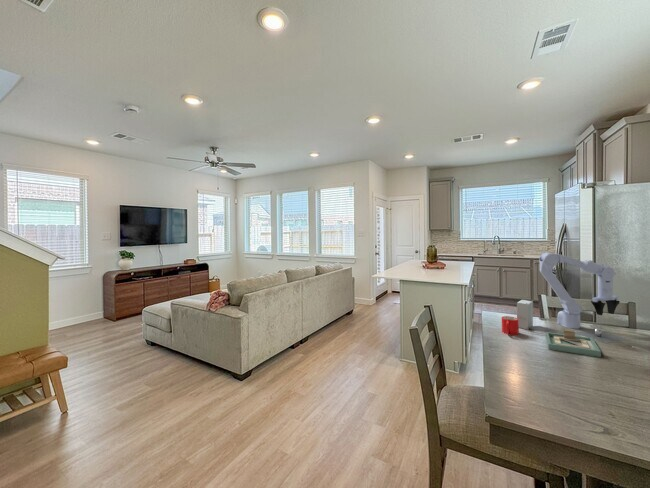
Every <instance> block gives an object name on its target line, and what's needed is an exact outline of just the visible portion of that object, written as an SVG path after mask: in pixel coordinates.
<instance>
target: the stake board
mask: <svg viewBox="0 0 650 488" xmlns="http://www.w3.org/2000/svg"><path fill="white" fill-rule="evenodd" d="M575 335H578V336H579V335H580V336H581V337H588V338H593V340H594V341H598V342H601V343H604V344H608V343H616V342H623V341H624V342H625V341H630V340H631V339H630V338H626V337H623V336H620V335H616V334H614V333H613V334H612V333H609V332H607V331H602V337H596V336H595V329H589V330H581V331H575Z"/></svg>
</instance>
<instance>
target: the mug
mask: <svg viewBox="0 0 650 488" xmlns="http://www.w3.org/2000/svg"><path fill="white" fill-rule="evenodd" d="M501 332H502V333H503V332H504V333H503V334H505V333H506V335H509V334H510V335H511V336H518V335H519V333H520V328H519V319H518V318H517V317H516V316H510V315H508V316H507V315H504V316H501Z"/></svg>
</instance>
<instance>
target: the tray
mask: <svg viewBox="0 0 650 488" xmlns="http://www.w3.org/2000/svg"><path fill="white" fill-rule="evenodd" d="M554 336H560V337H564V333H557V332H549V331H548V332H547V331H545V340H546V343H547V348H548V350H552V351H553V350H554V351H559V352H564V353H565V352H566V353H571V354H577V355H578V354H579V355H584V356H590V357H591V356H592V357H598V358H601V357H602V351H601V349H600V347H599V346H598V345H597V343H596V340H595V339H593V338H588V337H585V336H582V335H580V336H579V335H575V339H582V340H586V341H589V342H590V343H591V345H592V346H593V348H594V349H591V348H590V349H586V348H579V347H572V346H565V345H558V344H555V341H554ZM563 340H564V339H562V340H560V342H561V343H564V344H571V345H578V344H576V343H573V342H570V341H569V340H565V341H563ZM578 346H580V345H578Z"/></svg>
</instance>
